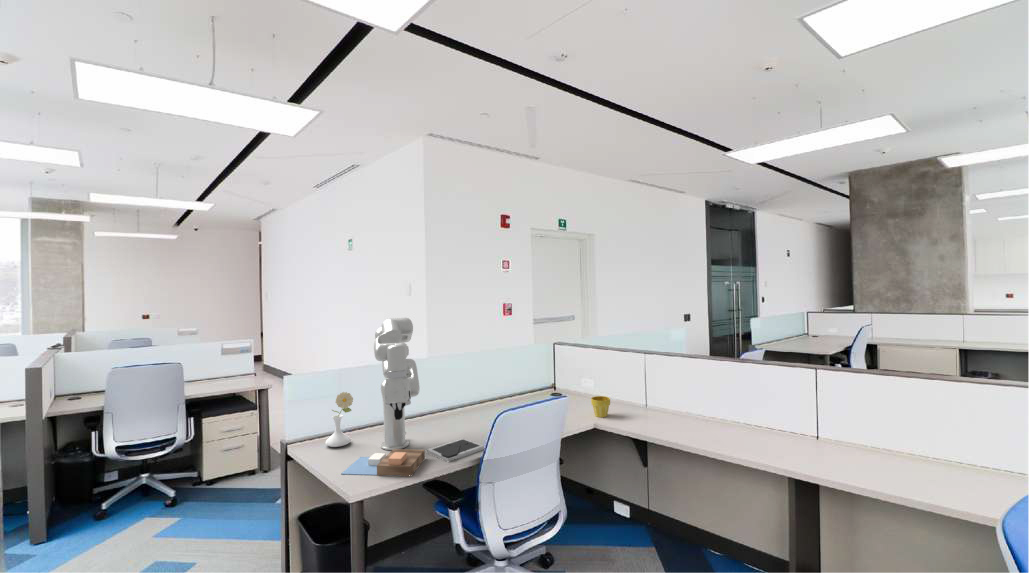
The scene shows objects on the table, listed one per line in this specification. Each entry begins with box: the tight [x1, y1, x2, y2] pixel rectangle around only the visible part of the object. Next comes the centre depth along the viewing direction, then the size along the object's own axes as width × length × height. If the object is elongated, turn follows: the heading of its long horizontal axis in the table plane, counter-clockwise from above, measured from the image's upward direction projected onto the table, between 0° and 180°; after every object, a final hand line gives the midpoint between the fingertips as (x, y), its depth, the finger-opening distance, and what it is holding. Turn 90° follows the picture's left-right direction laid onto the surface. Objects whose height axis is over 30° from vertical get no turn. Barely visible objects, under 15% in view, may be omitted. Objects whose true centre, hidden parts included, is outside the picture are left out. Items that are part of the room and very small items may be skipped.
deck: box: [376, 448, 426, 477], centre depth 199 cm, size 18×14×4 cm
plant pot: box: [590, 395, 611, 418], centre depth 265 cm, size 10×10×10 cm
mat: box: [341, 456, 378, 476], centre depth 201 cm, size 18×15×1 cm
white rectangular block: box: [368, 452, 387, 465], centre depth 204 cm, size 7×5×2 cm
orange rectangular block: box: [388, 452, 407, 465], centre depth 195 cm, size 7×5×2 cm
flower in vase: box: [325, 391, 354, 448], centre depth 227 cm, size 13×11×25 cm
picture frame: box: [426, 437, 486, 462], centre depth 216 cm, size 16×3×21 cm
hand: (398, 418), depth 199 cm, fingers closed
